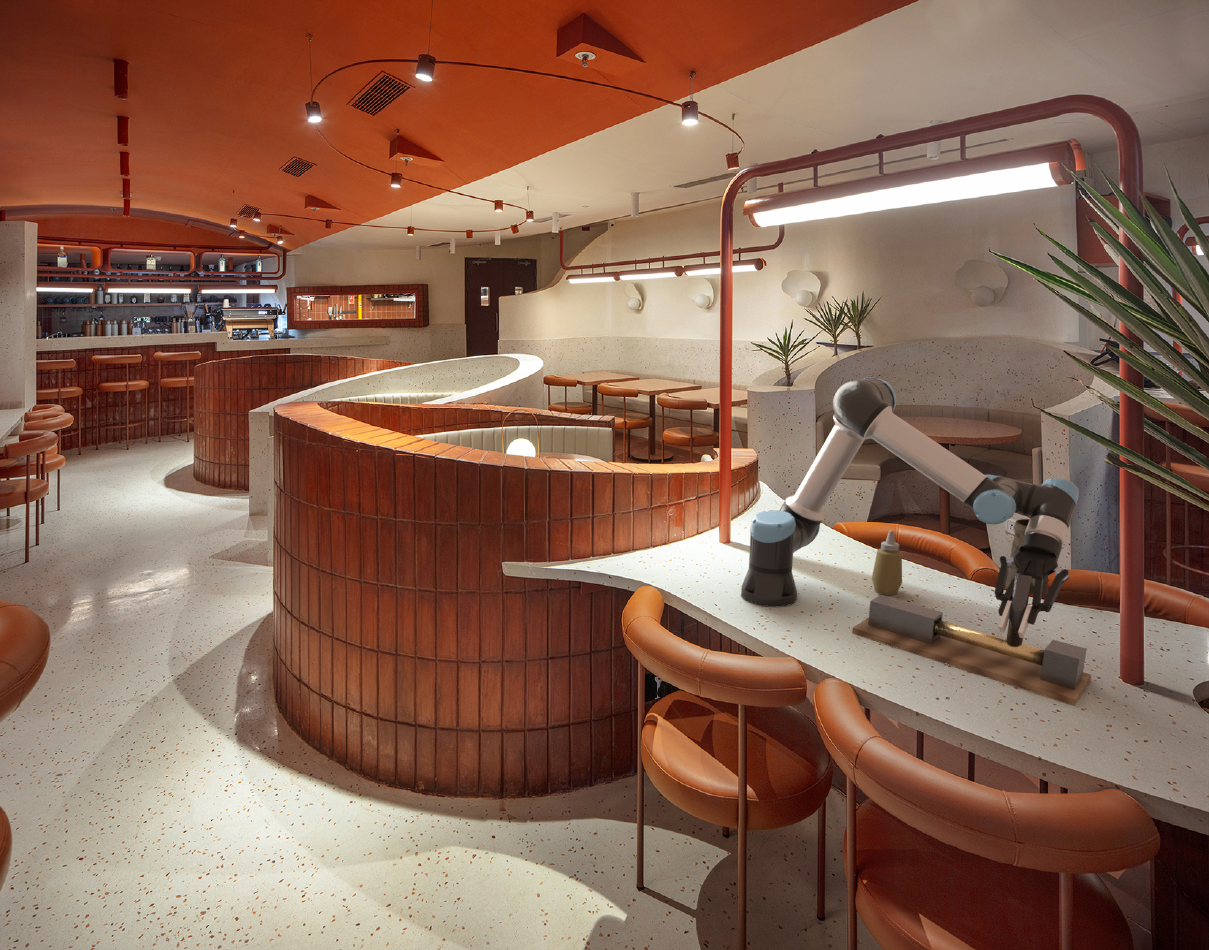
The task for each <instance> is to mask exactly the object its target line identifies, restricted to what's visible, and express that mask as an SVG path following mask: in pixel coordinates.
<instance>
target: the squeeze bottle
mask: <svg viewBox="0 0 1209 950" xmlns="http://www.w3.org/2000/svg"><path fill="white" fill-rule="evenodd" d="M871 581H872V585H873V588H874V591H875V592H876V593H878V594H879V595H884V596H885V595H887V596H893V595H897V594H898V592H899V590H900V588H901V585H902V584H903V554H902V552H901V551H900V544H899V543H898V542H896V539H895V531H894V530H888V533H887V537H886V539H885V541H882V542H881V544H880V549H877V551H876V555H875V560H874V566H873V570H872V575H871Z"/></svg>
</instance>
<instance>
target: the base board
mask: <svg viewBox="0 0 1209 950" xmlns="http://www.w3.org/2000/svg"><path fill="white" fill-rule="evenodd" d="M868 621H869V616H868V617H867V618H865V619H863V620H861V622H859V623H857V624H856V625H854V626H852V629H851V634H853V635H857V636H860V637H862V638H866V639H869V640H871V641H875V642H878V643H882V644H884V645H887V644H888V646H890V647H894V648H896V647H897V648H896V649H900V650H902V651H905V652H909V653H912V654H914V653H915V655H916V656H918V655H919V656H921V655H922V656H921V657H924V658H927V659H930V658H931V659H930V660H933V661H936V662H938V663H942V662H943V663H942V664H945V663H947V664H946V665H948V664H949V666H952V667H954V666H955V668H957V669H961V670H964V671H966V672H969V673H973V674H977V675H978V676H979V675H980V676H982V677H986V678H988V679H992V680H994V681H996V682H997V681H998V682H1000V683H1004V684H1007V685H1010V686H1013V687H1016V688H1019V689H1022V690H1025V691H1029V692H1031V693H1034V694H1036V695H1037V694H1038V695H1040V696H1043V697H1046V698H1049V699H1053V700H1056V701H1058V702H1062V703H1065V704H1067V705H1068V704H1069V705H1071V706H1073V707H1074V706H1075V707H1076V705H1077V703H1078V702H1079V700H1080V698H1081V697H1082V695H1083V694H1084V692H1085V690H1086V689H1087V687H1088V685H1090V683H1091V680H1092V674H1091V673H1087V672H1084V671H1083V675H1082V679H1081V681H1080V683H1079V684H1078V686H1077V687H1076V689H1075V690H1072V689H1069V688H1065V687H1062V686H1059V685H1056V684H1053V683H1049V682H1046V681H1043V680H1040V678H1041V671H1042V666H1041V665H1037V664H1034V663H1031V662H1027V661H1024V660H1021V659H1017V658H1014V657H1011V656H1007V655H1004V654H1001V653H997V652H994V651H991V650H987V649H984V648H981V647H977V646H974V645H971V644H967V643H964V642H961V641H957V640H954V639H951V638H947V637H944V636H941V635H940V638H939V639H937V640H936V641H935V642H934V643H933V644H928V643H925V642H921V641H918V640H915V639H912V638H908V637H905V636H902V635H899V634H896V633H892V632H889V631H886V630H883V629H880V628H876V627H873V626H870V625H868Z"/></svg>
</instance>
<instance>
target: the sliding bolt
mask: <svg viewBox="0 0 1209 950" xmlns="http://www.w3.org/2000/svg"><path fill="white" fill-rule="evenodd" d="M1031 579H1032V575H1030V574H1027V573H1022V572H1017V573H1015V579H1014V587H1013V594H1012V602H1011V609H1010V616H1009V620H1008V623H1007V632H1006V638H1004V637H1001V636H997V635H994V634H990V633H987V632H983V631H980V630H976V629H973V628H969V627H966V626H962V625H958V624H957V623H956V624H955V623H952V622H948V621H946V620H945V621H944V620H942V621H941V620H936V621H935V626H934V634H937V635H941V636H944V637H947V638H951V639H954V640H957V641H961V642H964V643H967V644H971V645H974V646H977V647H981V648H984V649H987V650H991V651H994V652H997V653H1001V654H1004V655H1007V656H1011V657H1014V658H1017V659H1021V660H1024V661H1027V662H1031V663H1034V664H1037V665H1041V666H1042V664H1043V657H1044V651H1045V649H1043V648H1039V647H1035V646H1032V645H1029V644H1025V643H1024V642H1023V641H1024V639H1023V638H1020V637H1019V633H1018V631H1019V628H1020V625H1021V622H1022V619H1023V616H1024V613H1025V610H1026V607H1027V605H1029V601H1030V600H1029V599H1030V594H1029V593H1030V586H1031Z"/></svg>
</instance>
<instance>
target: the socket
mask: <svg viewBox="0 0 1209 950" xmlns="http://www.w3.org/2000/svg"><path fill="white" fill-rule="evenodd" d="M1087 649H1088V648H1085V647H1082V646H1078V645H1074V644H1070V643H1067V642H1064V641H1061V640H1060V641H1059V640H1056V639H1051V641H1050V642H1049V643H1048V644H1047V645H1046V647H1045V648H1044V650H1045V651H1044V657H1043V664H1042V671H1041V678H1040V680H1043V681H1046V682H1049V683H1053V684H1056V685H1059V686H1062V687H1065V688H1069V689H1072V690H1075V689H1076V687H1077V686H1078V684H1079V683H1080V681H1081V679H1082V675H1083V672H1084V668H1085V662H1086V656H1087Z"/></svg>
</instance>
